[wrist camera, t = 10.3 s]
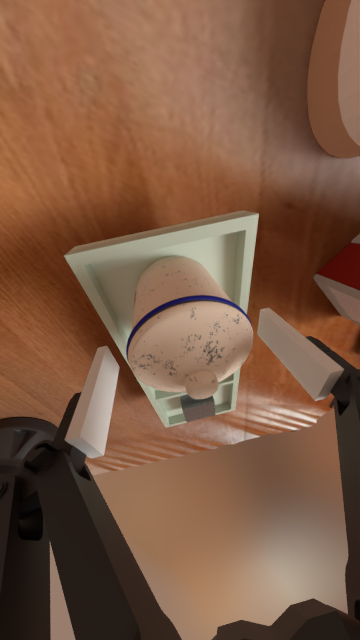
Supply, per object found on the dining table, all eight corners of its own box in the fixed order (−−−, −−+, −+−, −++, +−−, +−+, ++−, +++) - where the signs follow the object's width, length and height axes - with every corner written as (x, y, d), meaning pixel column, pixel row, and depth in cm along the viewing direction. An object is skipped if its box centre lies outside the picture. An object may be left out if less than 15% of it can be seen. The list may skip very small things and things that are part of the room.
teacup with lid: (113, 282, 17) (78, 392, 8) (194, 233, 15) (269, 297, 6) (172, 348, 24) (189, 444, 15) (230, 319, 22) (288, 406, 13)
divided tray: (164, 414, 39) (165, 427, 37) (75, 246, 15) (63, 255, 13) (230, 397, 40) (235, 410, 38) (243, 210, 16) (258, 213, 14)
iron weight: (183, 407, 36) (186, 422, 34) (179, 393, 32) (182, 409, 30) (210, 400, 36) (215, 415, 34) (209, 386, 32) (214, 401, 30)
